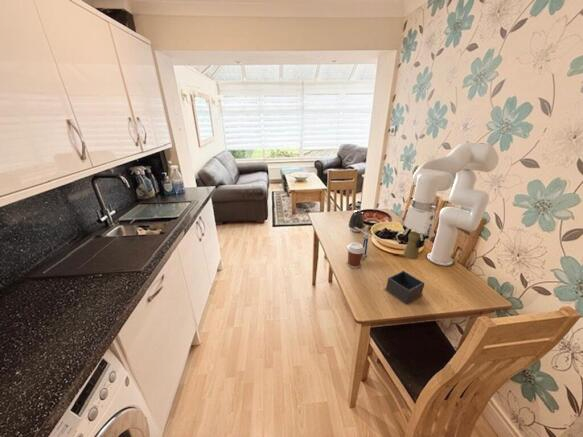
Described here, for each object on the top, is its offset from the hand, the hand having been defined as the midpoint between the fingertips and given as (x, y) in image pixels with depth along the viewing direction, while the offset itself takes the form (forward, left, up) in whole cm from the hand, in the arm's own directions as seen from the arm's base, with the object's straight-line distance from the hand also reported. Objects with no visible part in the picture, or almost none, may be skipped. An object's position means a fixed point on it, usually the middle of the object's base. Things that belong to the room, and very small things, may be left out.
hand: (413, 243), depth 102 cm
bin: (+1, +1, -25) cm, 25 cm away
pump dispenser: (-27, -57, -25) cm, 68 cm away
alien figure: (-6, -31, -25) cm, 41 cm away
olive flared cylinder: (0, 0, -6) cm, 6 cm away
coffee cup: (+4, -27, -25) cm, 38 cm away
